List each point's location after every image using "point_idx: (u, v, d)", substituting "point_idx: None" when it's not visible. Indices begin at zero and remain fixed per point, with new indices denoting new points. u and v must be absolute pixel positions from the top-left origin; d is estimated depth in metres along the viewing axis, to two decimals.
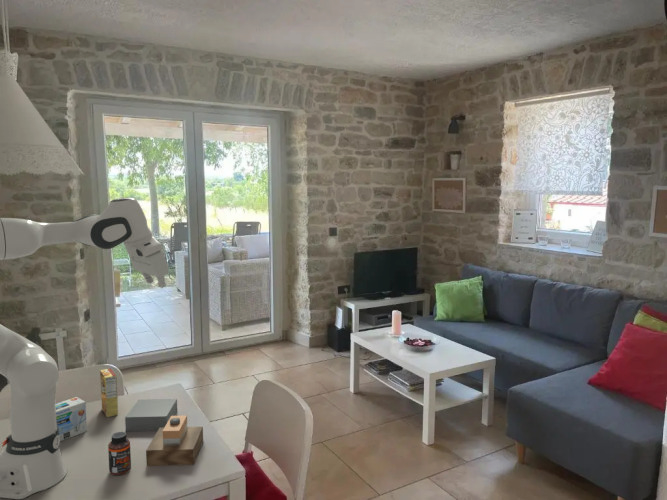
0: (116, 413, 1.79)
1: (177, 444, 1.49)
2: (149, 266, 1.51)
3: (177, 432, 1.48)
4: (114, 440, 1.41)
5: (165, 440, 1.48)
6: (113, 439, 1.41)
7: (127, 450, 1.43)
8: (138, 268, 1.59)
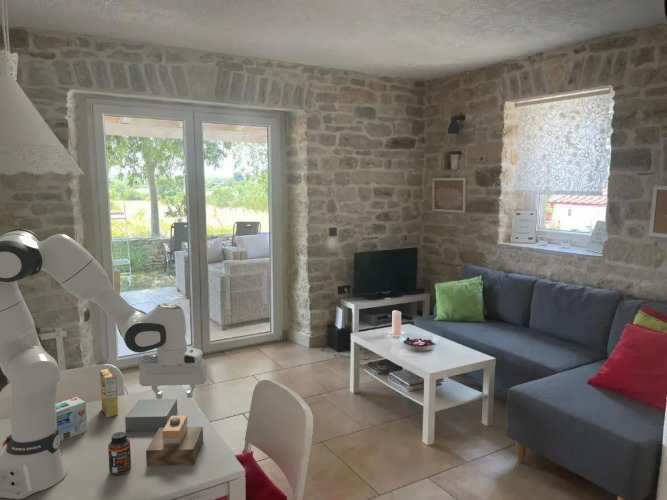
0: (116, 413, 1.79)
1: (177, 444, 1.49)
2: (189, 374, 1.49)
3: (177, 432, 1.48)
4: (114, 440, 1.41)
5: (165, 440, 1.48)
6: (113, 439, 1.41)
7: (127, 450, 1.43)
8: (155, 382, 1.49)
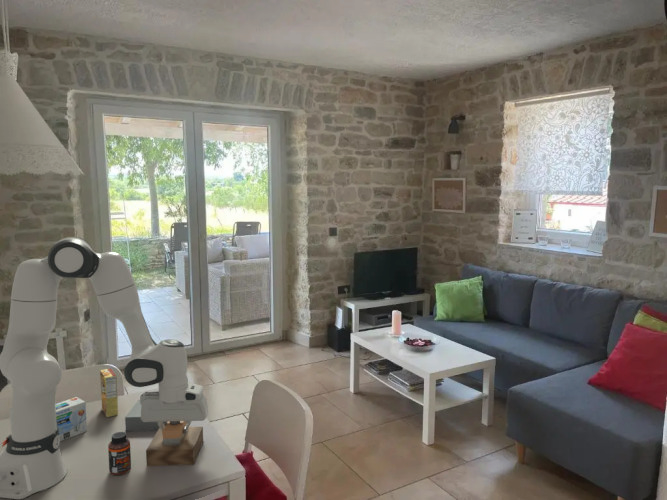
0: (116, 413, 1.79)
1: (177, 444, 1.49)
2: (190, 411, 1.51)
3: (177, 432, 1.48)
4: (114, 440, 1.41)
5: (165, 440, 1.48)
6: (113, 439, 1.41)
7: (127, 450, 1.43)
8: (156, 418, 1.50)
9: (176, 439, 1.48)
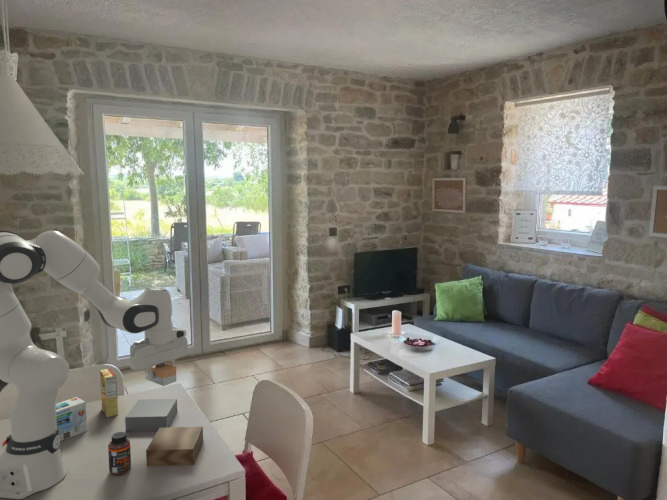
0: (116, 413, 1.79)
1: (174, 380, 1.61)
2: (176, 348, 1.65)
3: (174, 368, 1.61)
4: (114, 440, 1.41)
5: (165, 379, 1.58)
6: (113, 439, 1.41)
7: (127, 450, 1.43)
8: (149, 363, 1.56)
9: (174, 375, 1.61)
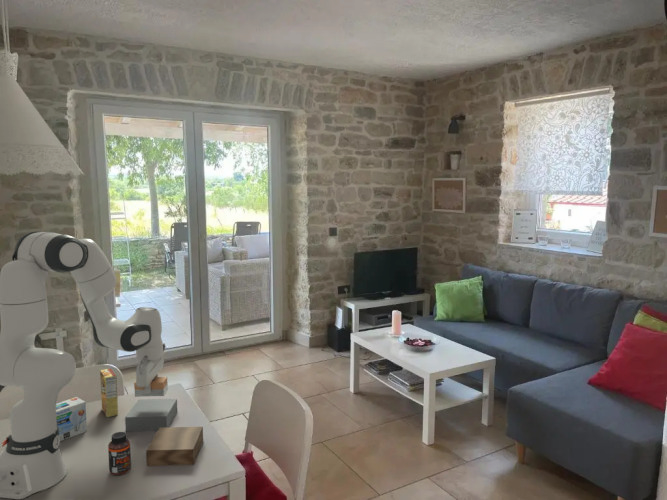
0: (116, 413, 1.79)
1: (167, 389, 1.76)
2: (159, 361, 1.78)
3: (166, 378, 1.76)
4: (114, 440, 1.41)
5: (164, 389, 1.72)
6: (113, 439, 1.41)
7: (127, 450, 1.43)
8: (151, 378, 1.68)
9: (166, 385, 1.76)
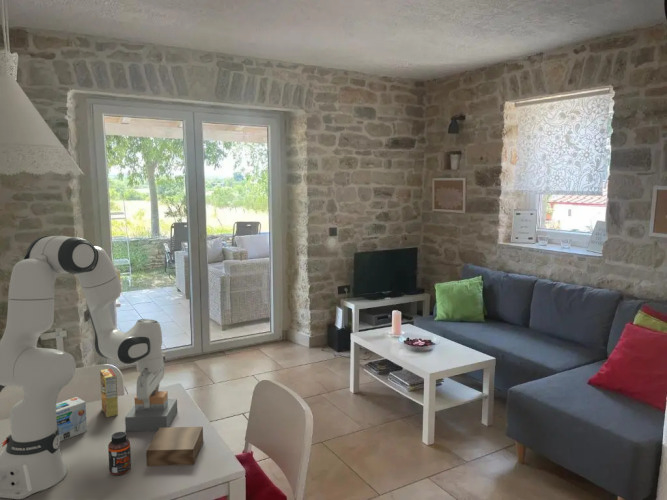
0: (116, 413, 1.79)
1: (167, 403, 1.76)
2: (160, 373, 1.78)
3: (167, 393, 1.76)
4: (114, 440, 1.41)
5: (164, 404, 1.73)
6: (113, 439, 1.41)
7: (127, 450, 1.43)
8: (151, 390, 1.68)
9: None
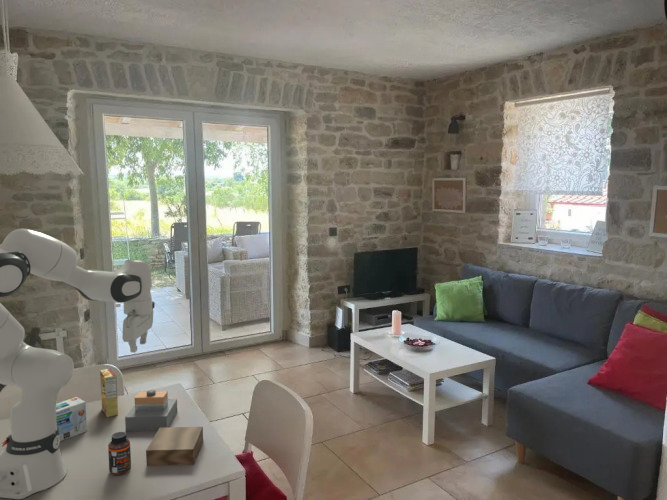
0: (116, 413, 1.79)
1: (167, 403, 1.76)
2: (148, 320, 1.69)
3: (167, 393, 1.76)
4: (114, 440, 1.41)
5: (164, 404, 1.73)
6: (113, 439, 1.41)
7: (127, 450, 1.43)
8: (138, 334, 1.59)
9: None
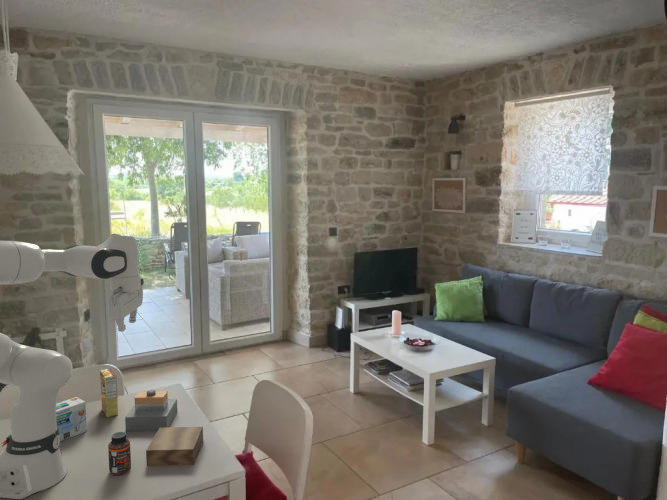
0: (116, 413, 1.79)
1: (167, 403, 1.76)
2: (137, 298, 1.60)
3: (167, 393, 1.76)
4: (114, 440, 1.41)
5: (164, 404, 1.73)
6: (113, 439, 1.41)
7: (127, 450, 1.43)
8: (126, 312, 1.50)
9: None
